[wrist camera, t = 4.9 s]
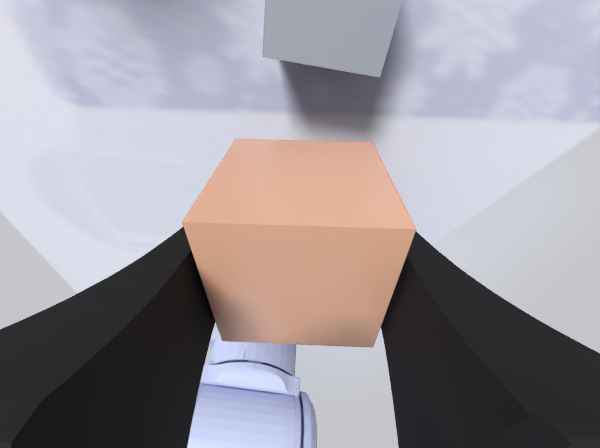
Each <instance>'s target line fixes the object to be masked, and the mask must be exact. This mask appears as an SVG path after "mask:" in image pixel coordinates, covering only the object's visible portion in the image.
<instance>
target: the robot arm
mask: <svg viewBox="0 0 600 448" xmlns="http://www.w3.org/2000/svg"><path fill="white" fill-rule="evenodd" d="M214 324H215V319H214V316H213V313H212V310H211V307H210V304H209V301H208V298H207V295H206V292H205V289H204V286H203V283H202V280H201V277H200V274H199V271H198V268H197V265H196V262H195V259H194V256H193V253H192V250H191V247H190V244H189V241H188V238H187V235H186V232H185V229H184V227H182V228H181V229H180V230H179V231H177V232H176V233H175V234H173V235H172V236H171V237H169V238H168V239H167V240H165V241H164V242H162V243H161V244H160V245H158V246H157V247H155V248H154V249H153V250H151V251H150V252H148V253H147V254H145V255H144V256H142V257H141V258H139V259H138V260H136V261H135V262H133V263H132V264H130V265H128V266H127V267H125V268H123V269H122V270H120V271H118V272H117V273H115V274H113V275H112V276H110V277H108V278H106V279H104V280H102V281H101V282H99V283H97V284H95V285H93V286H91V287H89V288H87V289H86V290H84V291H82V292H80V293H78V294H76V295H75V296H72V297H70V298H69V299H66V300H64V301H62V302H60V303H58V304H56V305H54V306H52V307H50V308H48V309H46V310H43V311H41V312H39V313H37V314H35V315H32V316H30V317H28V318H26V319H23V320H21V321H19V322H17V323H14V324H12V325H10V326H8V327H5V328H3V329H1V330H0V448H317V425H316V415H315V410H314V406H313V404H312V402H311V401H310V399H309V397H308V395H307V393H305V392H300V390H299V389H300V378H299V377H295V376H294V375H295V355H296V344H277V343H253V342H228V341H222V340H221V337H220V334H219V331H218V332H217V335H216V339H215V342H214V345H213V349H212V352H211V355H210V359H209V362H208V364H204V363H205V358H206V355H207V351H208V346H209V342H210V338H211V334H212V331H213V328H214ZM381 329H382V334H383V338H384V344H385V350H386V355H387V362H388V368H389V375H390V382H391V389H392V395H393V404H394V411H395V420H396V428H397V435H398V445H399V448H600V354H599V353H598V352H596V351H594V350H592V349H590V348H588V347H586V346H584V345H583V344H581V343H579V342H577V341H575V340H573V339H571V338H570V337H568V336H566V335H564V334H562V333H560V332H558V331H557V330H555V329H553V328H551V327H549V326H548V325H546V324H544V323H542V322H541V321H539V320H537V319H535V318H534V317H532V316H530V315H529V314H527V313H525V312H524V311H522V310H521V309H519V308H517V307H516V306H514V305H512V304H511V303H509V302H508V301H506V300H504V299H502V298H501V297H500V296H498V295H497V294H495V293H493V292H492V291H491V290H489V289H487V288H486V287H485V286H483V285H482V284H480V283H479V282H478V281H476V280H475V279H473V278H472V277H471V276H469V275H467V274H466V273H465V272H464V271H462V270H461V269H460V268H458V267H457V266H456V265H454V264H453V263H452V262H451V261H450V260H448V259H447V258H446V257H445V256H443V255H442V254H441V253H439V251H437V250H436V249H435V248H434V247H433V246H432V245H431V244H429V243H428V242H427V241H426V240H425V239H424V238H423V237H422V236H421V235H419V234H418V233H417V232H415V234H414V237H413V240H412V243H411V245H410V248H409V251H408V253H407V256H406V259H405V262H404V264H403V267H402V270H401V273H400V275H399V278H398V281H397V284H396V286H395V289H394V292H393V294H392V297H391V300H390V303H389V305H388V308H387V311H386V314H385V316H384V319H383V322H382V325H381Z"/></svg>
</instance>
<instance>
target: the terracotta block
mask: <svg viewBox="0 0 600 448" xmlns="http://www.w3.org/2000/svg"><path fill="white" fill-rule="evenodd" d="M182 223H183V226H184V229H185V232H186V235H187V238H188V241H189V244H190V247H191V250H192V253H193V256H194V259H195V262H196V265H197V268H198V271H199V274H200V277H201V280H202V283H203V286H204V289H205V292H206V295H207V298H208V301H209V304H210V307H211V310H212V313H213V316H214V319H215V322H216V325H217V328H218V331H219V334H220V337H221V340H222V341H228V342H253V343H277V344H302V345H304V344H305V345H327V346H328V345H329V346H352V347H373V346H374V344H375V341H376V338H377V335H378V332H379V330H380V327H381V325H382V322H383V319H384V316H385V314H386V311H387V308H388V305H389V303H390V300H391V297H392V294H393V292H394V289H395V286H396V284H397V281H398V278H399V275H400V273H401V270H402V267H403V264H404V262H405V259H406V256H407V253H408V251H409V248H410V245H411V243H412V240H413V237H414V234H415V232H416V227H415V225H414V223H413V221H412V219H411V217H410V215H409V213H408V211H407V209H406V207H405V205H404V203H403V201H402V199H401V197H400V195H399V193H398V191H397V190H396V188H395V186H394V184H393V182H392V180H391V178H390V176H389V174H388V172H387V170H386V168H385V166H384V164H383V162H382V160H381V158H380V156H379V154H378V152H377V150H376V148H375V146H374V144H373V142H342V141H299V140H257V139H235V141H234V142H233V144H232V145H231V147H230V148H229V150H228V151H227V153H226V155H225V156H224V158H223V159H222V161H221V162H220V164H219V165H218V167H217V169H216V170H215V172H214V173H213V175H212V176H211V178H210V179H209V181H208V182H207V184H206V186H205V187H204V189H203V190H202V192H201V193H200V195H199V196H198V198H197V200H196V201H195V203H194V204H193V206H192V207H191V209H190V210H189V212H188V214H187V215H186V217H185V218H184V220H183V221H182Z"/></svg>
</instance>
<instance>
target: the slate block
mask: <svg viewBox="0 0 600 448" xmlns="http://www.w3.org/2000/svg"><path fill="white" fill-rule="evenodd" d="M402 2H403V0H265V16H264V36H263V57H266V58H272V59H278V60H283V61H289V62H295V63H300V64H306V65H312V66H317V67H323V68H329V69H334V70H340V71H346V72H351V73H357V74H363V75H368V76H374V77H380V76H381V72H382V69H383V66H384V62H385V59H386V55H387V52H388V49H389V45H390V42H391V39H392V35H393V32H394V29H395V25H396V22H397V19H398V15H399V12H400V9H401V5H402Z"/></svg>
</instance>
